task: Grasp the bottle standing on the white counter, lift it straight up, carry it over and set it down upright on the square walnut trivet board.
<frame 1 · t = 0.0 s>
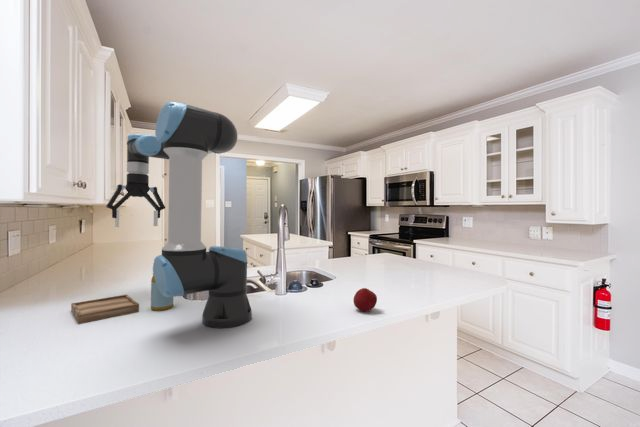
hand: (137, 226, 118), 28 cm above the worktop, fingers open, 13 cm apart
apple: (364, 311, 104), on the worktop
bottle: (162, 308, 104), on the worktop
trivet: (105, 311, 99), on the worktop
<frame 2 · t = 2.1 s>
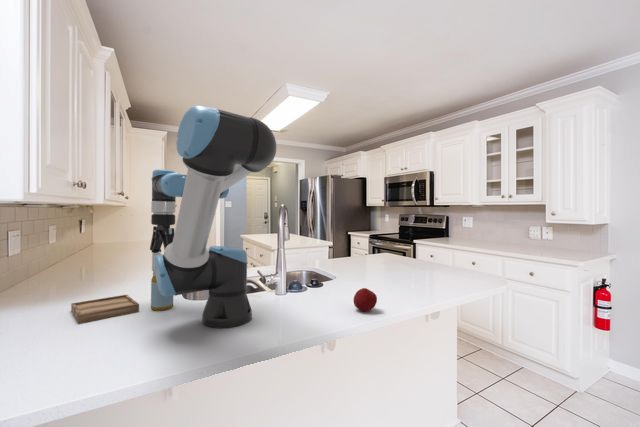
hand: (162, 273, 104), 12 cm above the worktop, fingers open, 13 cm apart
nothing on the worktop moved.
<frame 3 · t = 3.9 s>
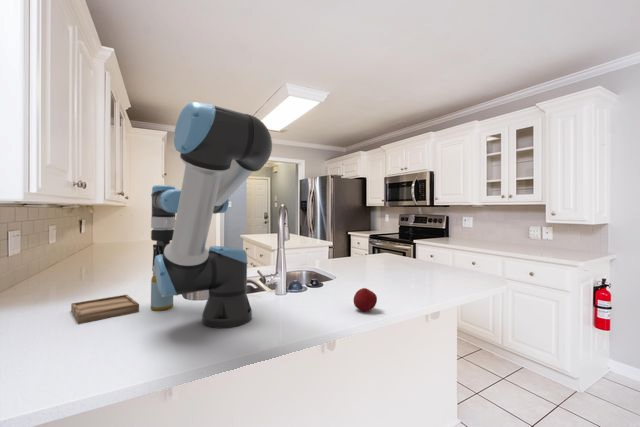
hand: (162, 293, 104), 5 cm above the worktop, fingers closed on bottle, 7 cm apart
bottle: (162, 308, 104), on the worktop, touching gripper
everything else where it was.
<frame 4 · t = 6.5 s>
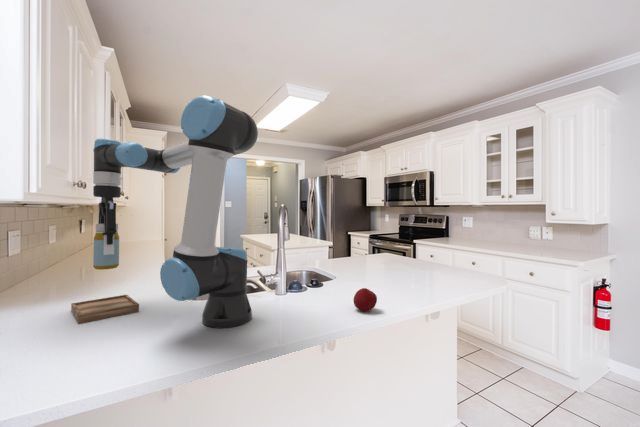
hand: (106, 253, 99), 20 cm above the worktop, fingers closed on bottle, 7 cm apart
bottle: (106, 268, 99), point 15 cm above the worktop, touching gripper
everything else where it was.
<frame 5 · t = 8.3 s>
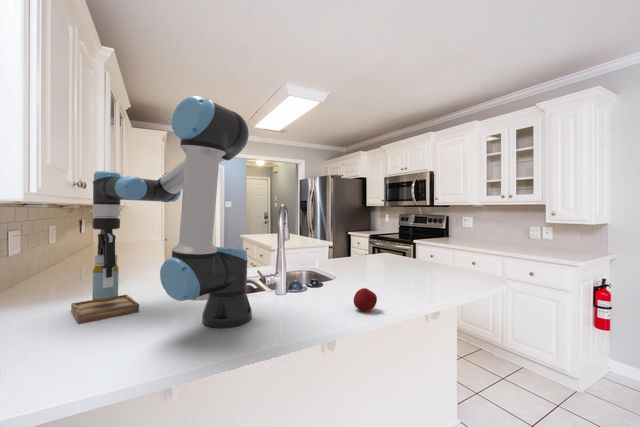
hand: (105, 284, 99), 9 cm above the worktop, fingers closed on bottle, 7 cm apart
bottle: (105, 300, 99), point 4 cm above the worktop, touching gripper
everything else where it was.
when the fingers open (8 cm above the worktop, at t = 9.4 s): bottle stays where it is, resting on trivet.
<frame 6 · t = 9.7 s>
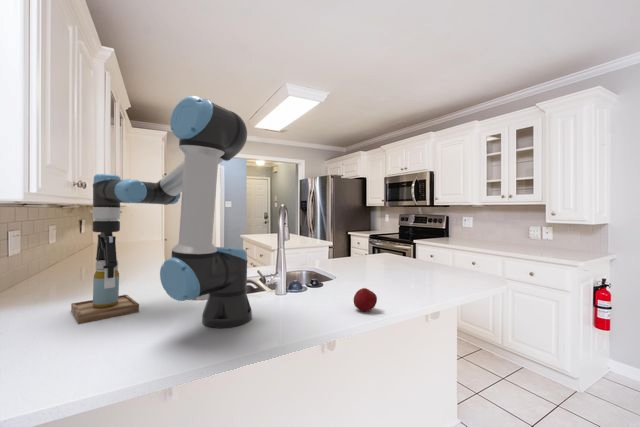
hand: (105, 284, 99), 9 cm above the worktop, fingers open, 11 cm apart
bottle: (105, 305, 99), point 2 cm above the worktop, touching trivet
everything else where it was.
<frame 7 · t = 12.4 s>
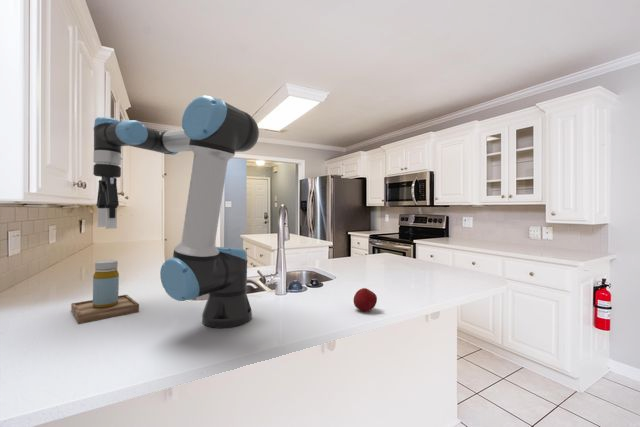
hand: (106, 227, 99), 28 cm above the worktop, fingers open, 13 cm apart
nothing on the worktop moved.
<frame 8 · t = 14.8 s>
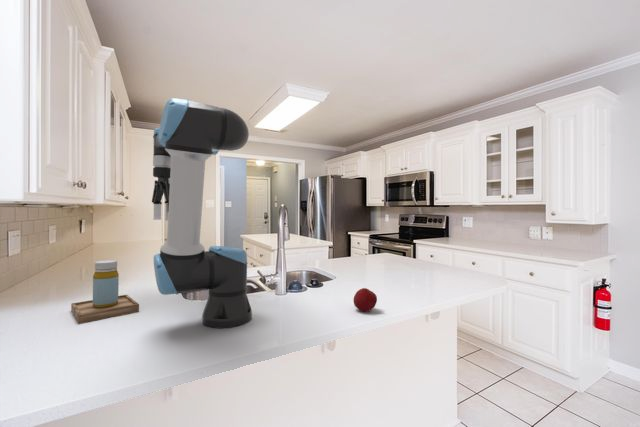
hand: (162, 220, 119), 31 cm above the worktop, fingers open, 13 cm apart
nothing on the worktop moved.
at the end: bottle inside the target area on the trivet (0.1 cm from its centre), point 1.8 cm above the trivet's base; bottle tilted 0°; the gripper is holding nothing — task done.
